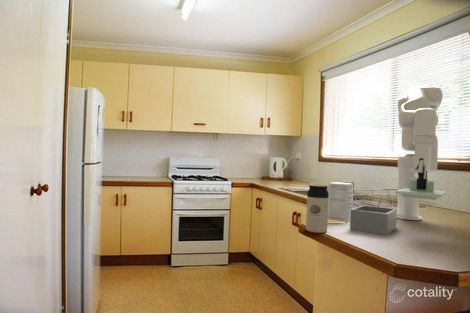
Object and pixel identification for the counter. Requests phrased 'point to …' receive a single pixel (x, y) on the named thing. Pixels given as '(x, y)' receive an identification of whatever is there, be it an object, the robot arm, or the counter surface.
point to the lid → (421, 191)
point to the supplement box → (340, 201)
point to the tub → (373, 219)
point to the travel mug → (317, 208)
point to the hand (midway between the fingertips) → (421, 188)
